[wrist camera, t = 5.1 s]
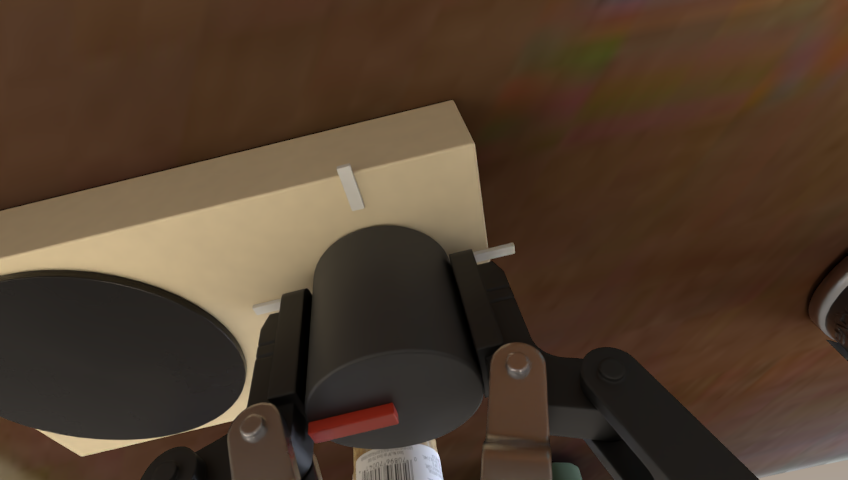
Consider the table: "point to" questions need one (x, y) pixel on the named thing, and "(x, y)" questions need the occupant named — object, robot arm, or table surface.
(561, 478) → the character mug
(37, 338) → the burner
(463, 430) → the table surface
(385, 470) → the sprinkles bottle
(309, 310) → the robot arm
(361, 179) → the hob
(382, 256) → the knob
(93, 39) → the table surface
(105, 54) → the table surface
